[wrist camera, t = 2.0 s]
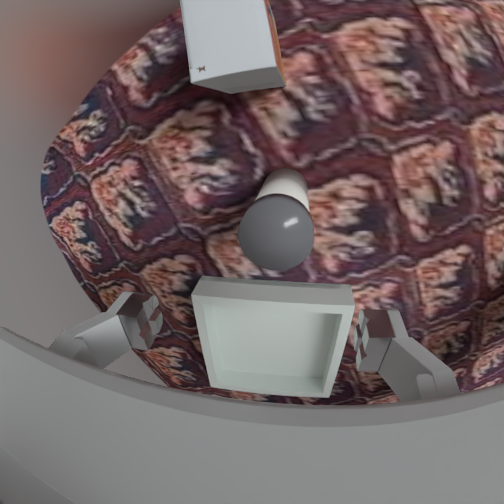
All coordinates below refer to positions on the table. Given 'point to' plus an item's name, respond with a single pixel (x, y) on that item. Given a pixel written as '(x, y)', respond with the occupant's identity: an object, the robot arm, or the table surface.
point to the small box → (232, 45)
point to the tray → (272, 334)
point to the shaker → (278, 222)
